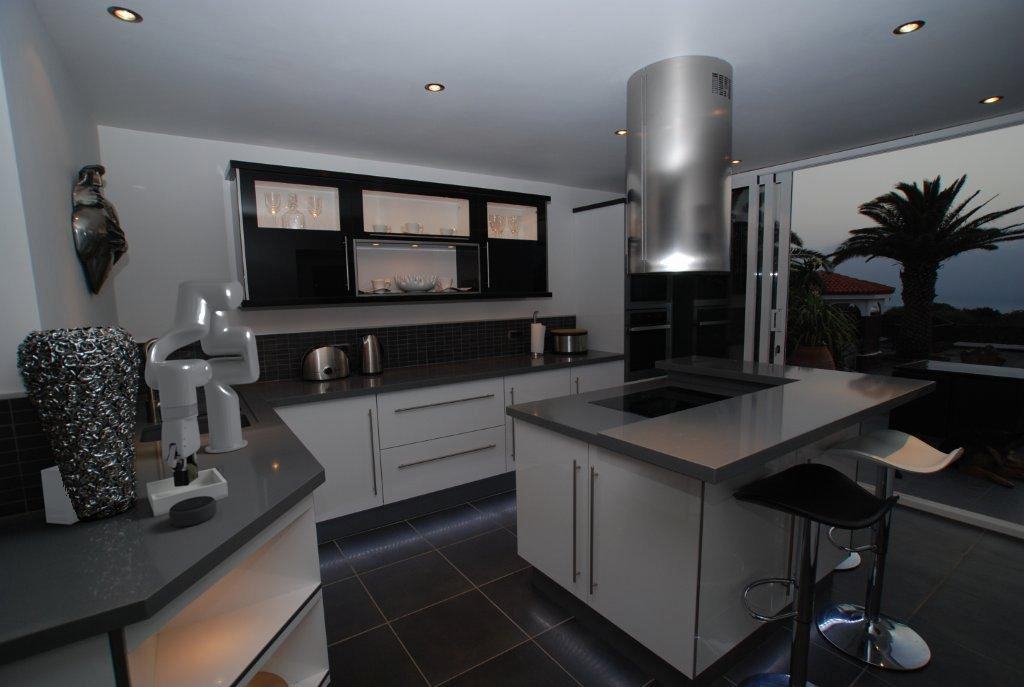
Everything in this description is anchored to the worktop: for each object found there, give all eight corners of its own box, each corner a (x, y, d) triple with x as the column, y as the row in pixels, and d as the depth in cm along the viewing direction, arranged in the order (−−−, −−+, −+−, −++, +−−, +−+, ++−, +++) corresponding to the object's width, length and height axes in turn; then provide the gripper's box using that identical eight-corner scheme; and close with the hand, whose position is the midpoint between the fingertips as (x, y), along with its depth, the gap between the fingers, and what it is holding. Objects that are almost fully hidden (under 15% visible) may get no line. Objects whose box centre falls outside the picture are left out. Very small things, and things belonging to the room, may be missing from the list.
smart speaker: (199, 528, 101) (198, 510, 101) (160, 529, 101) (158, 511, 101) (225, 510, 110) (224, 494, 110) (189, 511, 110) (187, 495, 110)
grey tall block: (70, 525, 105) (64, 471, 104) (45, 523, 106) (39, 469, 105) (105, 510, 112) (99, 460, 111) (81, 509, 113) (75, 459, 112)
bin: (148, 498, 119) (146, 483, 118) (216, 481, 129) (214, 467, 128) (154, 516, 108) (152, 500, 107) (228, 496, 118) (226, 481, 117)
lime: (201, 480, 119) (200, 461, 119) (183, 487, 115) (181, 468, 114) (189, 478, 121) (187, 460, 120) (170, 485, 116) (168, 466, 116)
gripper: (179, 406, 124) (185, 472, 125) (144, 421, 107) (152, 497, 109) (210, 404, 125) (216, 469, 127) (180, 418, 109) (188, 493, 110)
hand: (186, 481), depth 118 cm, fingers closed on lime, 4 cm apart
